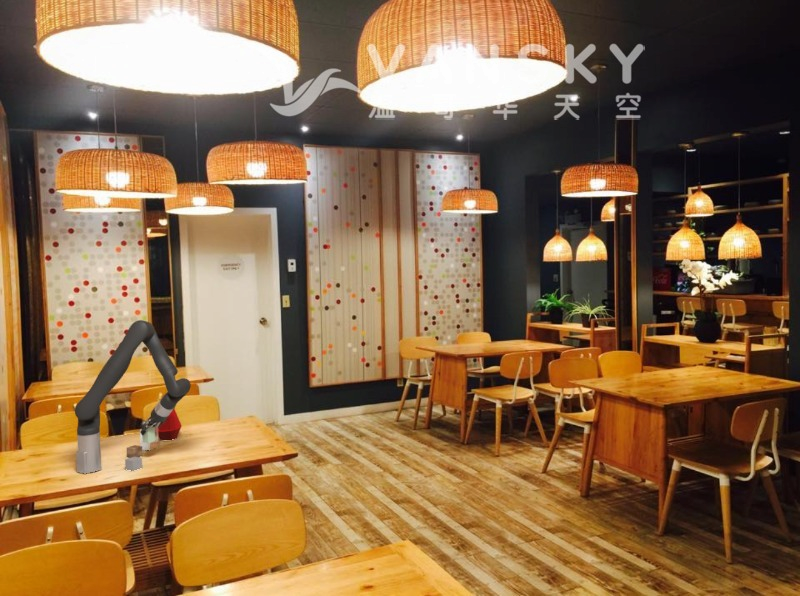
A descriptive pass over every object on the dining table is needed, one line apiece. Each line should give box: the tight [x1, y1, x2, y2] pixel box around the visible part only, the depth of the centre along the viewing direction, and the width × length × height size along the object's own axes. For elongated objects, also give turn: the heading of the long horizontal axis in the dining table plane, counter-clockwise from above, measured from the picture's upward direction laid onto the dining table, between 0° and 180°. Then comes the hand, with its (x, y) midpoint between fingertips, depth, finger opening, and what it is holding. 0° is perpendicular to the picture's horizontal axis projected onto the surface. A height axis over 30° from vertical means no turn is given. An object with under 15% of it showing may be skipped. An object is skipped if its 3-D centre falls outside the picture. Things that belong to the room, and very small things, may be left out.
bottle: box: [157, 406, 182, 441], centre depth 339 cm, size 16×14×20 cm
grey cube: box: [124, 457, 143, 472], centre depth 289 cm, size 5×5×5 cm
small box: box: [139, 427, 160, 451], centre depth 322 cm, size 8×6×10 cm
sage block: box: [142, 427, 155, 443], centre depth 302 cm, size 4×4×7 cm
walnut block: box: [126, 444, 143, 459], centre depth 308 cm, size 5×5×5 cm
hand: (145, 432), depth 303 cm, fingers closed on sage block, 4 cm apart
